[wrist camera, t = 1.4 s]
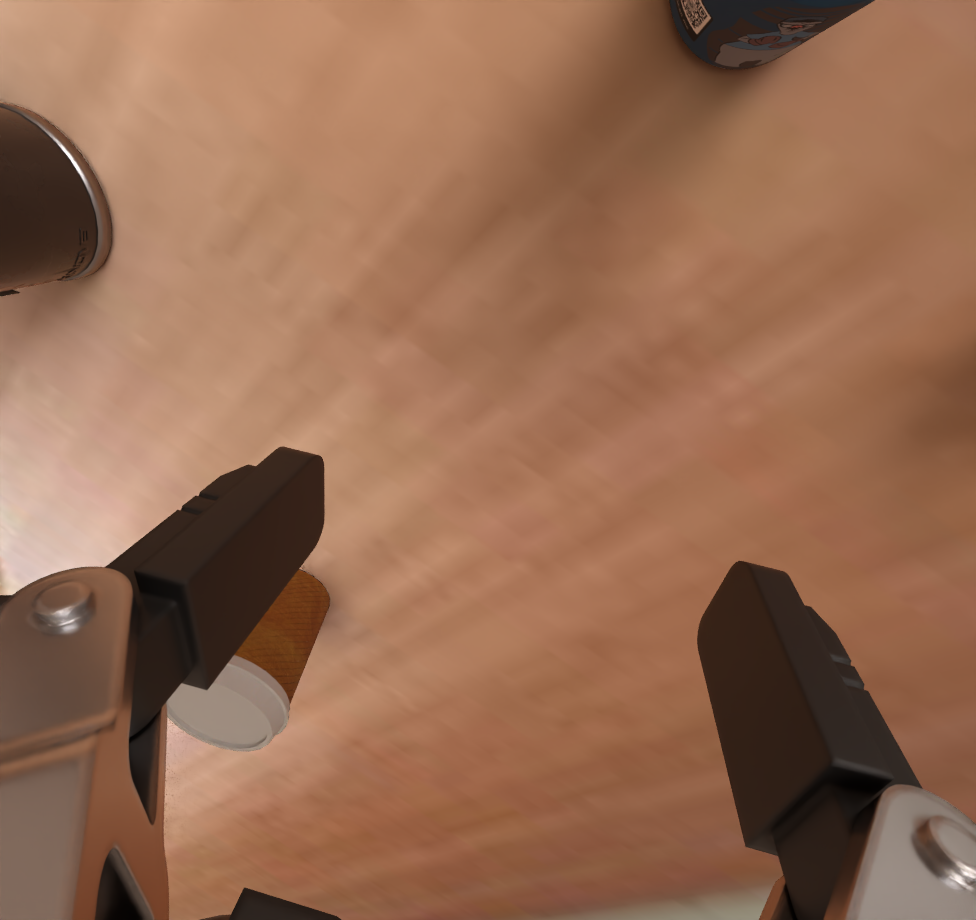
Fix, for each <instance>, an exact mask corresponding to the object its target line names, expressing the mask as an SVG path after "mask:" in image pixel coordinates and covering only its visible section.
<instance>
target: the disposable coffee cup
mask: <svg viewBox="0 0 976 920" xmlns="http://www.w3.org/2000/svg"><path fill="white" fill-rule="evenodd" d="M329 602H330V599H329V595H328V593H327V591H326V589H325V588H324V586H323V585H322V584H321V583H320V582H319V581H318V580H317V579H315V578H314V577H313V576H311V575H309V574H308V573H306V572H303V571H301V570H298V571H297V572H296V573H295V575H294V576H293V577H292V579H291V580H290V581H289V583H288V584H287V585H286V587H285V588H284V589H283V591H282V592H281V593H280V595H279V596H278V597H277V599H276V600H275V601H274V603H273V604H272V605H271V607H270V608H269V609H268V611H267V612H266V613H265V615H264V616H263V617H262V619H261V620H260V621H259V623H258V624H257V625H256V627H255V628H254V629H253V631H252V632H251V633H250V634H249V636H248V637H247V638H246V640H245V641H244V642H243V644H242V645H241V646H240V648H239V649H238V650H237V652H236V653H235V654H234V656H233V657H232V658H231V660H230V661H229V662H228V664H227V665H226V666H225V668H224V669H223V670H222V672H221V673H220V674H219V676H218V677H217V678H216V680H215V681H214V682H213V684H212V685H211V686H210V688H209V689H208V690H204V689H200V688H197V687H193V686H190V685H186V684H183V683H181V685H180V686H179V687H178V688H177V689H176V691H175V692H174V693H173V694H172V696H171V697H170V698H169V699H168V701H167V702H166V704H167V717H168V718H169V719H170V720H171V721H172V722H173V723H175V724H176V725H177V726H178V727H179V728H180V729H182V730H183V731H185V732H186V733H188V734H189V735H191V736H193V737H195V738H196V739H198V740H201V741H203V742H205V743H208V744H210V745H213V746H216V747H219V748H223V749H227V750H233V751H254V750H259V749H261V748H263V747H265V746H266V745H268V744H269V743H270V741H271V740H272V739H273V738H274V736H275V735H277V734H279V733H281V732H282V731H283V729H284V728H285V727H286V725H287V722H288V719H289V710H290V703H291V700H292V698H293V695H294V693H295V690H296V688H297V685H298V683H299V680H300V678H301V675H302V673H303V670H304V668H305V665H306V663H307V660H308V658H309V655H310V653H311V650H312V648H313V645H314V643H315V640H316V638H317V635H318V633H319V630H320V628H321V625H322V623H323V620H324V618H325V615H326V613H327V610H328V608H329Z"/></svg>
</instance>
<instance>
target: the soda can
mask: <svg viewBox="0 0 976 920" xmlns="http://www.w3.org/2000/svg"><path fill="white" fill-rule="evenodd" d="M669 1H670V7H671V12H672V16H673V19H674V22H675V25H676V27H677V30H678V32H679V34H680V36H681V38H682V39H683V41H684V42H685V44H686V45H687V46H688V48H689V49H690V50H691V51H692V52H693V53H694V54H695V55H696V56H698V57H699V58H700V59H702V60H703V61H705V62H707V63H709V64H711V65H713V66H717V67H720V68H725V69H748V68H753V67H757V66H760V65H763V64H766V63H768V62H771V61H773V60H775V59H777V58H779V57H780V56H782V55H784V54H786V53H787V52H789V51H791V50H792V49H794V48H796V47H797V46H799V45H801V44H802V43H804V42H806V41H807V40H809V39H811V38H812V37H814V36H816V35H817V34H819V33H821V32H822V31H824V30H826V29H827V28H829V27H831V26H833V25H834V24H836V23H838V22H839V21H841V20H843V19H844V18H846V17H848V16H849V15H851V14H853V13H854V12H856V11H858V10H859V9H861V8H863V7H864V6H866V5H868V4H869V3H871V2H873V1H874V0H669Z"/></svg>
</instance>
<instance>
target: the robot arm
mask: <svg viewBox="0 0 976 920" xmlns="http://www.w3.org/2000/svg"><path fill="white" fill-rule="evenodd" d="M110 244H111V221H110V215H109V211H108V207H107V203H106V200H105V197H104V195H103V192H102V190H101V187H100V185H99V183H98V181H97V179H96V177H95V175H94V173H93V172H92V170H91V169H90V167H89V165H88V164H87V162H86V161H85V159H84V158H83V157H82V155H81V154H80V153H79V151H78V150H77V149H76V148H75V147H74V145H73V144H72V143H71V142H70V141H69V140H68V139H67V138H66V137H65V136H64V135H63V134H62V133H61V132H60V131H59V130H57V129H56V128H55V127H54V126H53V125H51V124H50V123H49V122H47V121H46V120H45V119H43V118H41V117H40V116H38V115H37V114H35V113H33V112H31V111H29V110H27V109H24V108H22V107H19V106H16V105H12V104H6V103H0V296H6V295H11V294H16V293H20V292H17V291H15V290H13V289H18V288H24V287H29V286H34V285H39V284H44V283H49V282H54V281H68V280H73V279H78V278H83V277H86V276H89V275H91V274H93V273H94V272H96V271H97V270H98V269H99V268H100V267H101V266H102V264H103V263H104V261H105V260H106V258H107V255H108V253H109V249H110ZM323 525H324V462H323V459H322V457H321V456H319V455H315V454H311V453H307V452H303V451H299V450H295V449H291V448H287V447H279V448H278V449H276V450H275V451H274V452H272V453H271V454H270V455H269V456H268V457H267V458H265V459H264V460H263V461H262V462H261V463H260V464H258V465H257V466H252V465H246V466H244V467H241V468H239V469H236V470H234V471H231V472H229V473H227V474H224V475H222V476H220V477H219V478H217V479H216V480H215V481H214V482H212V483H211V484H210V485H208V486H207V487H206V488H205V489H203V490H202V491H201V492H200V494H199V496H195V497H193V498H192V499H191V500H190V501H188V502H187V503H186V504H184V505H183V506H182V509H181V511H180V510H177V511H176V512H174V513H173V514H172V515H171V516H169V517H168V518H167V519H166V520H164V521H163V522H162V523H160V524H159V525H158V526H157V527H155V528H154V529H153V530H152V531H150V532H149V533H148V534H147V535H145V536H144V537H143V538H142V539H140V540H139V541H138V542H136V543H135V544H134V545H133V546H131V547H130V548H129V549H128V550H126V551H125V552H124V553H123V554H121V555H120V556H119V557H117V558H116V559H115V560H114V561H112V562H111V563H110V564H109V565H107V566H106V567H81V568H74V569H69V570H64V571H61V572H57V573H54V574H51V575H48V576H46V577H43V578H41V579H39V580H37V581H34V582H32V583H30V584H29V585H27V586H25V587H24V588H22V589H20V590H19V591H17V592H16V593H15V594H13V595H0V920H169V886H168V873H167V864H166V857H165V850H164V799H165V770H166V740H167V704H166V702H167V701H168V699H169V698H170V697H171V696H172V694H173V693H174V692H175V691H176V689H177V688H178V687H179V686H180V685H181V683H183V684H186V685H190V686H193V687H197V688H200V689H204V690H208V689H209V688H210V686H211V685H212V684H213V682H214V681H215V680H216V678H217V677H218V676H219V674H220V673H221V672H222V670H223V669H224V668H225V666H226V665H227V664H228V662H229V661H230V660H231V658H232V657H233V656H234V654H235V653H236V652H237V650H238V649H239V648H240V646H241V645H242V644H243V642H244V641H245V640H246V638H247V637H248V636H249V634H250V633H251V632H252V631H253V629H254V628H255V627H256V625H257V624H258V623H259V621H260V620H261V619H262V617H263V616H264V615H265V613H266V612H267V611H268V609H269V608H270V607H271V605H272V604H273V603H274V601H275V600H276V599H277V597H278V596H279V595H280V593H281V592H282V591H283V589H284V588H285V587H286V585H287V584H288V583H289V581H290V580H291V579H292V577H293V576H294V575H295V573H296V572H297V571H298V569H299V568H300V567H301V565H302V564H303V563H304V561H305V560H306V559H307V557H308V556H309V555H310V553H311V552H312V551H313V549H314V548H315V546H316V545H317V543H318V541H319V538H320V536H321V533H322V529H323ZM697 644H698V651H699V655H700V660H701V664H702V668H703V672H704V676H705V680H706V684H707V689H708V693H709V697H710V701H711V705H712V709H713V713H714V718H715V722H716V726H717V730H718V734H719V738H720V743H721V747H722V751H723V755H724V759H725V763H726V767H727V772H728V776H729V780H730V784H731V788H732V792H733V796H734V801H735V805H736V809H737V813H738V817H739V821H740V825H741V830H742V834H743V838H744V842H745V846H746V847H749V848H752V849H756V850H759V851H763V852H766V853H770V854H773V855H777V856H778V857H779V860H780V864H781V867H782V871H783V874H784V875H783V876H782V877H780V878H779V879H778V880H777V881H776V883H775V884H774V886H773V888H772V890H771V892H770V895H769V897H768V900H767V902H766V904H765V907H764V909H763V911H762V914H761V916H760V918H759V920H976V824H975V823H974V822H973V821H972V820H971V819H970V818H968V817H967V816H966V815H965V814H963V813H962V812H961V811H960V810H958V809H957V808H956V807H954V806H953V805H951V804H950V803H948V802H947V801H945V800H944V799H942V798H940V797H938V796H937V795H935V794H933V793H931V792H928V791H926V790H924V789H922V787H921V785H920V783H919V782H918V780H917V778H916V776H915V774H914V773H913V771H912V769H911V767H910V765H909V764H908V762H907V760H906V758H905V757H904V755H903V753H902V751H901V749H900V748H899V746H898V744H897V742H896V740H895V739H894V737H893V735H892V733H891V731H890V730H889V728H888V726H887V724H886V722H885V721H884V719H883V717H882V715H881V713H880V712H879V710H878V708H877V706H876V705H875V703H874V701H873V699H872V697H871V696H870V694H869V692H868V691H866V690H864V683H863V681H862V679H861V678H860V676H859V674H858V672H857V670H856V669H855V667H853V666H851V664H850V663H851V660H850V658H849V656H848V654H847V653H846V651H845V649H844V647H843V645H842V644H841V642H840V640H839V638H838V636H837V635H836V633H835V632H834V631H833V630H832V629H831V628H830V627H829V626H828V625H827V624H826V622H825V621H824V620H823V619H822V618H821V617H820V616H819V615H818V614H817V613H816V612H815V611H814V610H813V609H812V608H811V607H809V606H805V605H804V604H803V602H802V600H801V598H800V596H799V594H798V592H797V590H796V588H795V586H794V585H793V583H792V581H791V579H790V577H789V576H788V574H787V573H785V572H784V571H780V570H776V569H772V568H768V567H764V566H760V565H756V564H752V563H748V562H744V561H738V562H736V563H735V564H734V565H733V566H732V567H731V568H730V570H729V572H728V573H727V575H726V577H725V578H724V580H723V582H722V584H721V585H720V587H719V589H718V590H717V592H716V594H715V596H714V597H713V599H712V601H711V602H710V604H709V606H708V608H707V609H706V611H705V613H704V614H703V616H702V618H701V621H700V624H699V629H698V637H697ZM201 920H341V919H340V918H338V917H337V916H334V915H331V914H328V913H325V912H321V911H318V910H315V909H312V908H309V907H305V906H302V905H299V904H296V903H293V902H289V901H286V900H283V899H280V898H276V897H273V896H270V895H267V894H264V893H260V892H257V891H254V890H251V889H248V888H244V889H243V891H242V893H241V895H240V897H239V899H238V901H237V904H236V906H235V908H234V910H233V912H232V914H231V915H219V916H214V917H210V918H205V919H201Z"/></svg>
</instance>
